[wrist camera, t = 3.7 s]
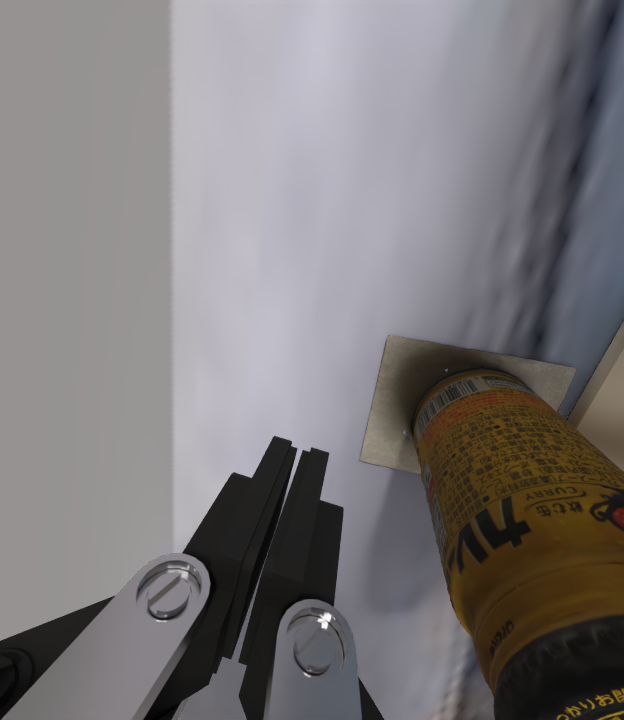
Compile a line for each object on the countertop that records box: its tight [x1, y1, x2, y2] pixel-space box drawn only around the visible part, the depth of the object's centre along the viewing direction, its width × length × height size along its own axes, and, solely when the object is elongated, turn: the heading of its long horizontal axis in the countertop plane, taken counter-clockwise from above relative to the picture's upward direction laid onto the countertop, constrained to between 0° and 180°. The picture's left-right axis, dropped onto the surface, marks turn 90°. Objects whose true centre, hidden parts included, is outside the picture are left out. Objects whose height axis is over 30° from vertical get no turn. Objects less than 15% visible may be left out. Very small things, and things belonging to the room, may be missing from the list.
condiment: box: [360, 335, 624, 720], centre depth 11 cm, size 7×8×12 cm
